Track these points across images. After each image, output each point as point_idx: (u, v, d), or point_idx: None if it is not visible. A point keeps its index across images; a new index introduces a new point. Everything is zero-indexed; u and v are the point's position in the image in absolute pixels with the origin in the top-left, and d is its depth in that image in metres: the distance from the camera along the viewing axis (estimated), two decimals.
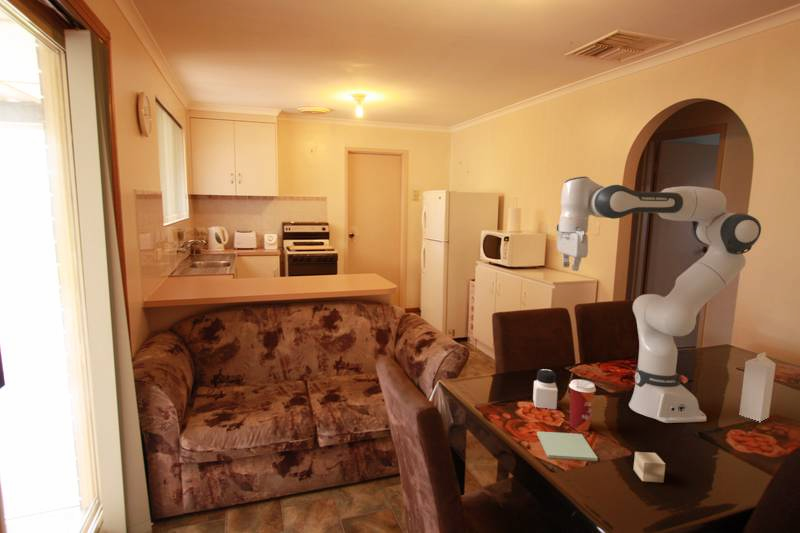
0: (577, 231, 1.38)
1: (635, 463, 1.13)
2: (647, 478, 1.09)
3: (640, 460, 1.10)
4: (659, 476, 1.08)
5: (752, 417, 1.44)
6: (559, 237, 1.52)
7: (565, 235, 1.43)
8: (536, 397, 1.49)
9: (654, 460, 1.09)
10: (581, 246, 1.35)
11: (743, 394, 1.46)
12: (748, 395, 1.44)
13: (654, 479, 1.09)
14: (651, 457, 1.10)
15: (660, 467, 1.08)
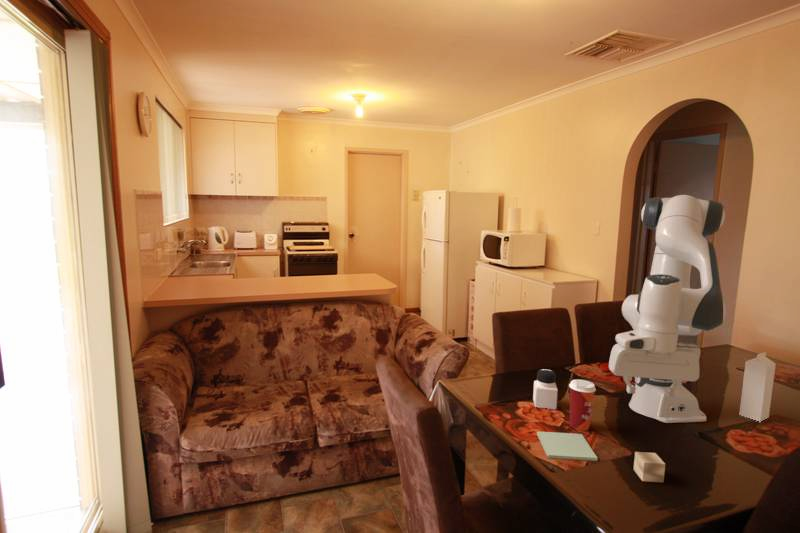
0: (680, 347, 1.07)
1: (635, 463, 1.13)
2: (647, 478, 1.09)
3: (640, 460, 1.10)
4: (659, 476, 1.08)
5: (752, 417, 1.44)
6: (625, 356, 1.08)
7: (666, 355, 1.06)
8: (536, 397, 1.49)
9: (654, 460, 1.09)
10: None
11: (743, 394, 1.46)
12: (748, 395, 1.44)
13: (654, 479, 1.09)
14: (651, 457, 1.10)
15: (660, 467, 1.08)
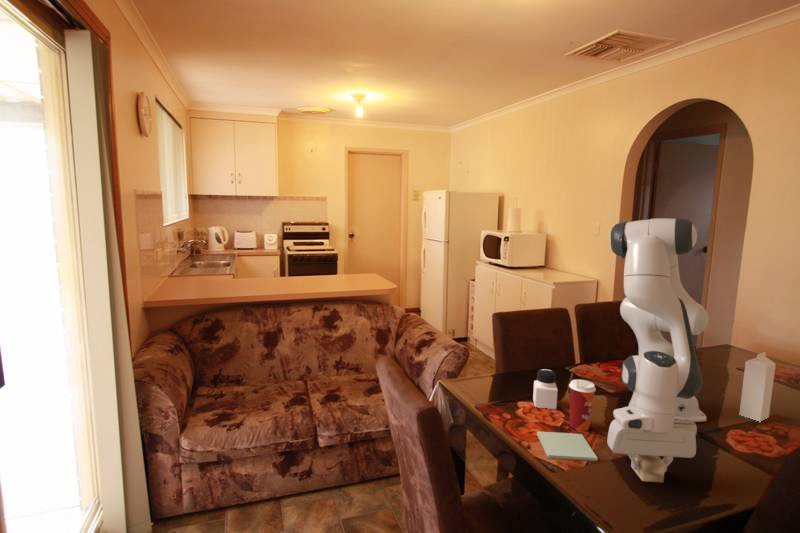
0: (677, 424, 1.09)
1: None
2: (647, 478, 1.09)
3: (640, 459, 1.10)
4: (659, 476, 1.08)
5: (752, 417, 1.44)
6: (624, 434, 1.08)
7: (664, 434, 1.07)
8: (536, 397, 1.49)
9: (654, 460, 1.09)
10: None
11: (743, 394, 1.46)
12: (748, 395, 1.44)
13: (654, 479, 1.08)
14: (651, 457, 1.10)
15: (660, 467, 1.08)
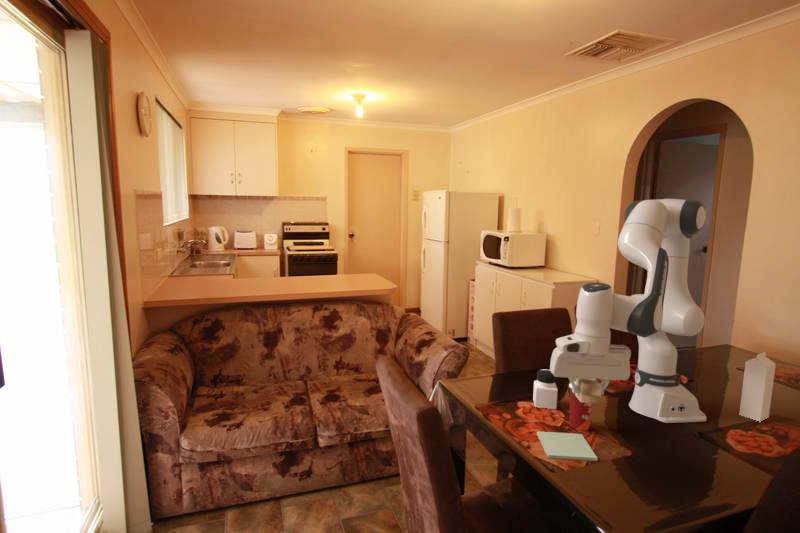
0: (613, 349, 1.17)
1: None
2: (585, 400, 1.17)
3: (580, 383, 1.18)
4: (596, 397, 1.16)
5: (752, 417, 1.44)
6: (563, 358, 1.16)
7: (600, 357, 1.15)
8: (536, 397, 1.49)
9: (592, 383, 1.17)
10: None
11: (743, 394, 1.46)
12: (748, 395, 1.44)
13: (592, 400, 1.16)
14: (590, 381, 1.18)
15: (597, 388, 1.16)
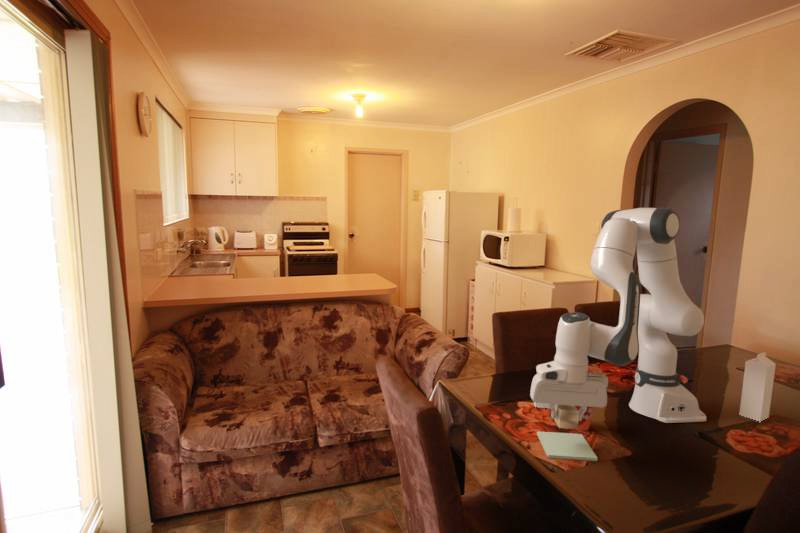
0: (591, 377, 1.21)
1: None
2: (563, 425, 1.21)
3: (558, 409, 1.22)
4: (573, 423, 1.21)
5: (752, 417, 1.44)
6: (542, 385, 1.21)
7: (577, 385, 1.19)
8: None
9: (570, 409, 1.21)
10: None
11: (743, 394, 1.46)
12: (748, 395, 1.44)
13: (569, 426, 1.21)
14: (568, 407, 1.23)
15: (575, 415, 1.20)
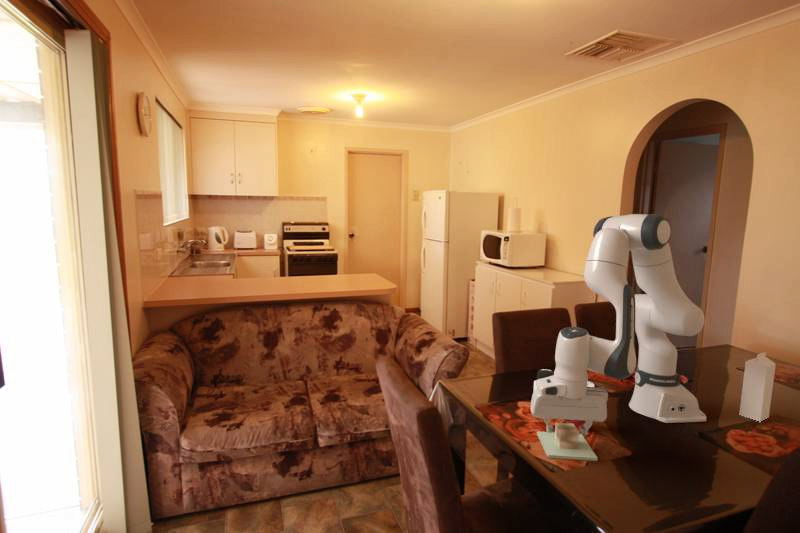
0: (591, 391, 1.21)
1: (555, 432, 1.26)
2: (563, 445, 1.22)
3: (558, 429, 1.23)
4: (573, 443, 1.21)
5: (752, 417, 1.44)
6: (542, 400, 1.21)
7: (577, 399, 1.20)
8: None
9: (569, 429, 1.22)
10: None
11: (743, 394, 1.46)
12: (748, 395, 1.44)
13: (569, 446, 1.22)
14: (568, 427, 1.23)
15: (574, 435, 1.21)
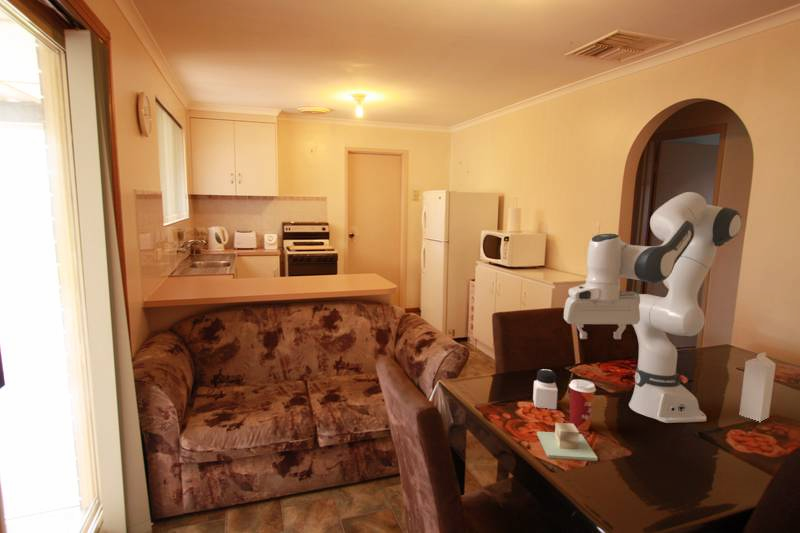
0: (623, 295, 1.24)
1: (555, 432, 1.26)
2: (563, 445, 1.22)
3: (558, 429, 1.23)
4: (573, 443, 1.21)
5: (752, 417, 1.44)
6: (576, 306, 1.24)
7: (611, 303, 1.22)
8: (536, 397, 1.49)
9: (569, 429, 1.22)
10: None
11: (743, 394, 1.46)
12: (748, 395, 1.44)
13: (569, 446, 1.22)
14: (568, 427, 1.23)
15: (574, 435, 1.21)
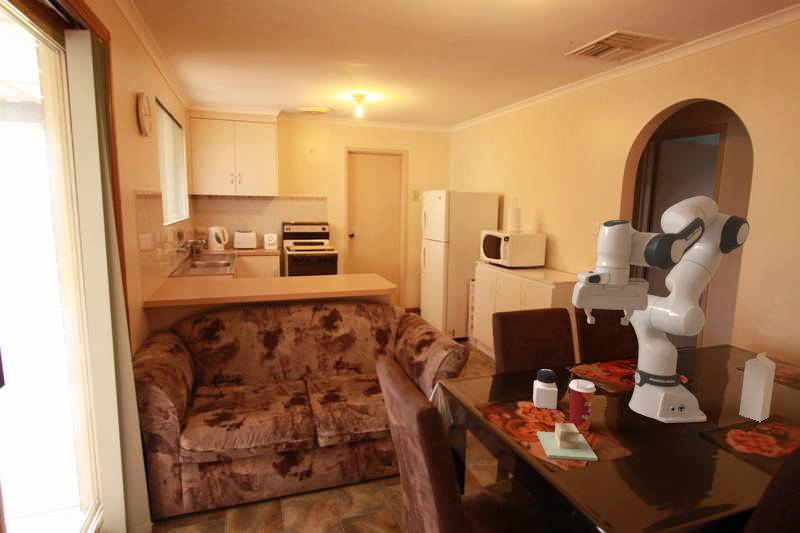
0: (632, 282, 1.25)
1: (555, 432, 1.26)
2: (563, 445, 1.22)
3: (558, 429, 1.23)
4: (573, 443, 1.21)
5: (752, 417, 1.44)
6: (585, 290, 1.25)
7: (620, 288, 1.23)
8: (536, 397, 1.49)
9: (569, 429, 1.22)
10: None
11: (743, 394, 1.46)
12: (748, 395, 1.44)
13: (569, 446, 1.22)
14: (568, 427, 1.23)
15: (574, 435, 1.21)
